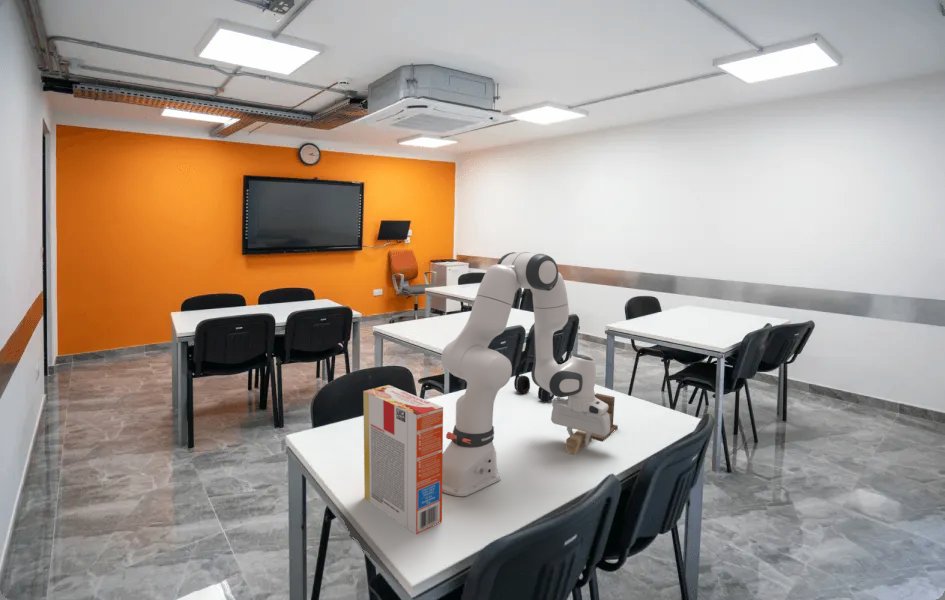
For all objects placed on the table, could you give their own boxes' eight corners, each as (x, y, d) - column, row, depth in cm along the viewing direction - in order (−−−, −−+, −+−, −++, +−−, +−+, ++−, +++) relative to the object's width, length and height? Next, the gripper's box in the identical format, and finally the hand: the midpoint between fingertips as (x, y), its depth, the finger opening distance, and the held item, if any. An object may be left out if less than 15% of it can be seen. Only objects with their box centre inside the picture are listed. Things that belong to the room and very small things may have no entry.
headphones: (511, 393, 232) (512, 353, 229) (521, 389, 237) (523, 350, 234) (546, 404, 217) (547, 362, 215) (556, 401, 222) (558, 359, 220)
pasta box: (441, 521, 130) (443, 407, 126) (416, 534, 125) (416, 414, 121) (389, 487, 147) (388, 384, 142) (364, 497, 141) (363, 391, 137)
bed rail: (574, 454, 170) (575, 438, 170) (565, 452, 172) (566, 436, 171) (591, 440, 182) (592, 425, 181) (583, 437, 184) (584, 423, 183)
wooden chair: (602, 441, 181) (604, 408, 180) (576, 434, 187) (577, 402, 185) (617, 428, 194) (619, 397, 192) (592, 421, 199) (593, 391, 197)
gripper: (548, 398, 178) (547, 436, 180) (606, 411, 166) (603, 452, 168) (557, 393, 183) (555, 431, 185) (613, 406, 172) (610, 445, 173)
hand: (578, 441), depth 177 cm, fingers open, 3 cm apart
